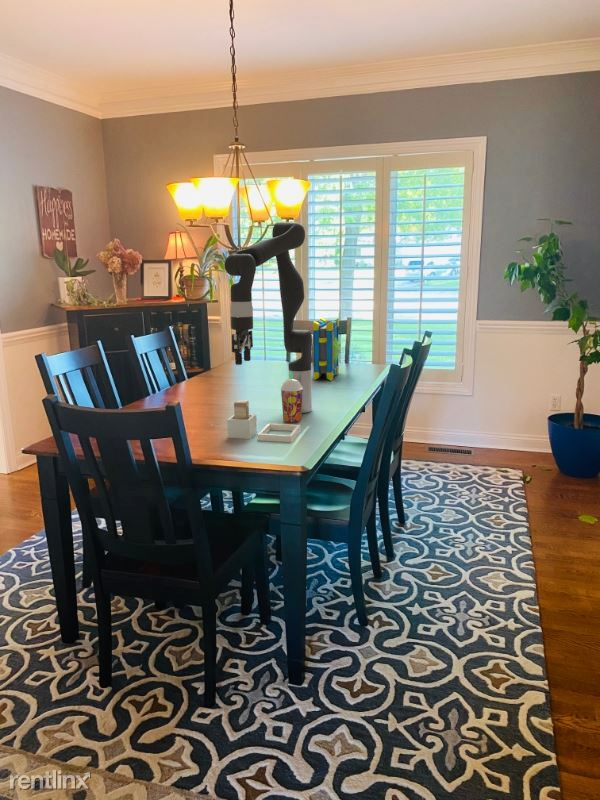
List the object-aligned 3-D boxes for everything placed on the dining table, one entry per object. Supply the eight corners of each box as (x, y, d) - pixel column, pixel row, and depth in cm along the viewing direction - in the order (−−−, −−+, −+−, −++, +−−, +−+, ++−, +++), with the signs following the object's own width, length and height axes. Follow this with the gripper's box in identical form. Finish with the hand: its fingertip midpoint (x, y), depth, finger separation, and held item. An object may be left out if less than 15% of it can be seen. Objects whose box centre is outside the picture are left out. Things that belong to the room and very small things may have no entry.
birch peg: (238, 432, 209) (237, 400, 206) (249, 433, 208) (248, 400, 205) (235, 436, 205) (233, 402, 202) (246, 436, 204) (245, 403, 202)
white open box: (235, 433, 212) (234, 413, 210) (256, 434, 210) (256, 414, 208) (228, 440, 204) (227, 419, 202) (250, 441, 202) (249, 420, 201)
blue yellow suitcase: (343, 373, 319) (343, 317, 312) (335, 381, 297) (335, 322, 290) (317, 372, 323) (317, 317, 316) (307, 380, 301) (307, 322, 294)
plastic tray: (268, 431, 214) (268, 423, 213) (300, 432, 211) (300, 424, 211) (257, 442, 201) (257, 434, 200) (291, 444, 198) (291, 436, 197)
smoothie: (280, 420, 228) (279, 369, 223) (302, 419, 228) (301, 369, 224) (281, 426, 220) (280, 373, 215) (304, 425, 220) (303, 373, 216)
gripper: (238, 313, 206) (240, 359, 209) (223, 316, 192) (225, 365, 196) (259, 313, 204) (260, 360, 207) (245, 316, 190) (246, 366, 194)
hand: (243, 362), depth 201 cm, fingers open, 8 cm apart
